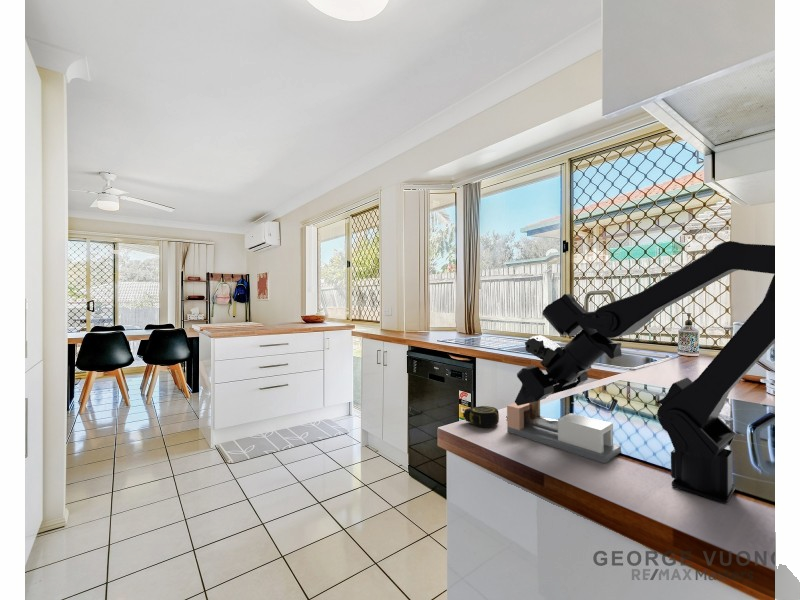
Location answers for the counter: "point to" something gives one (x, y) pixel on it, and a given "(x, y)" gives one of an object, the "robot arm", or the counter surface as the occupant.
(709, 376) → the robot arm
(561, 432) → the tube rig
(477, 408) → the tape measure
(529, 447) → the counter surface
